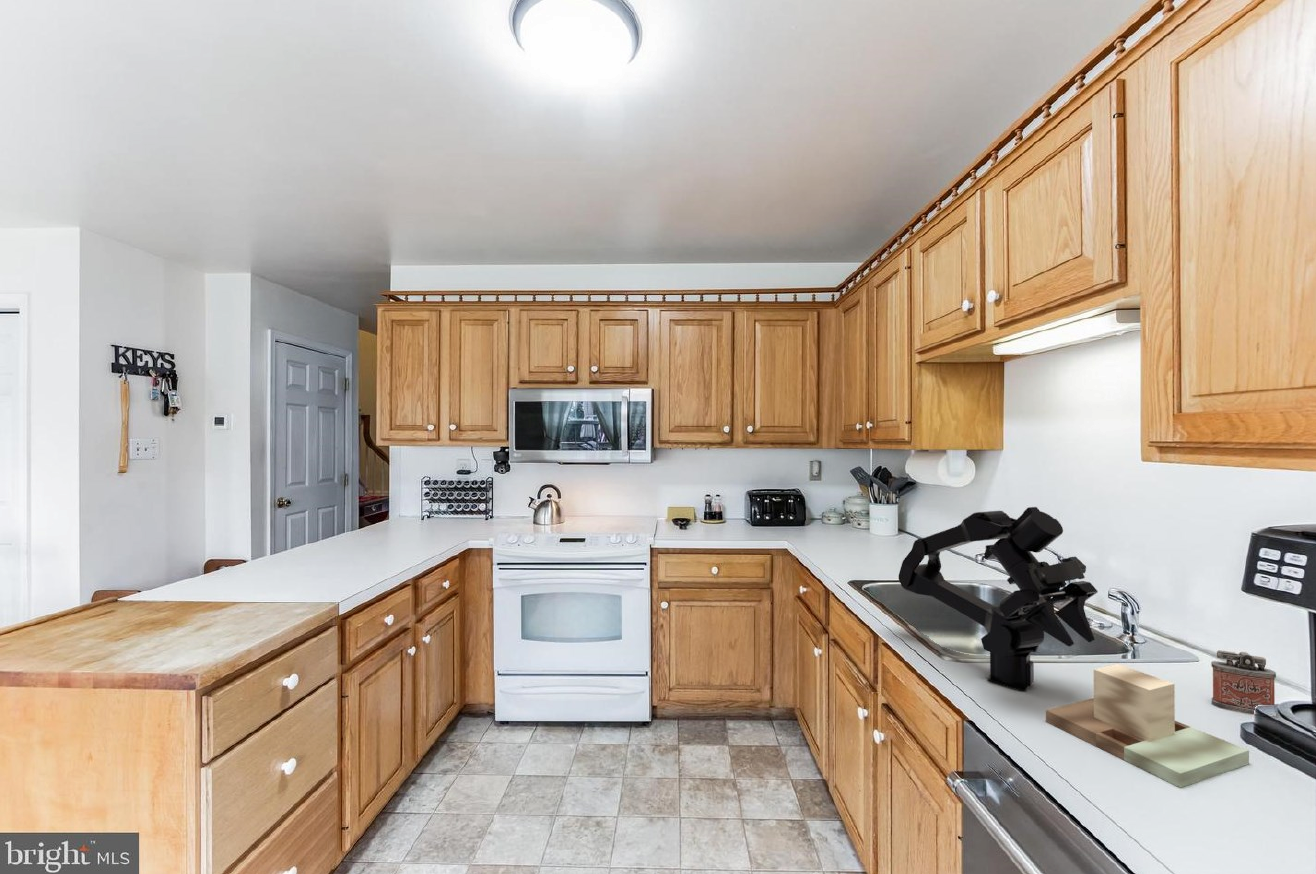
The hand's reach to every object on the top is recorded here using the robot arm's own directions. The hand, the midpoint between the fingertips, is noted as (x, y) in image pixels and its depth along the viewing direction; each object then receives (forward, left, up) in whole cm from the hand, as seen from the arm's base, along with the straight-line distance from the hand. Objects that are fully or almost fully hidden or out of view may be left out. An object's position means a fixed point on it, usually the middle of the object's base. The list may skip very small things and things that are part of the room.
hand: (1082, 643), depth 97 cm
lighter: (+20, +22, -13) cm, 32 cm away
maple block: (+7, -3, -11) cm, 13 cm away
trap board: (+8, -4, -13) cm, 15 cm away
